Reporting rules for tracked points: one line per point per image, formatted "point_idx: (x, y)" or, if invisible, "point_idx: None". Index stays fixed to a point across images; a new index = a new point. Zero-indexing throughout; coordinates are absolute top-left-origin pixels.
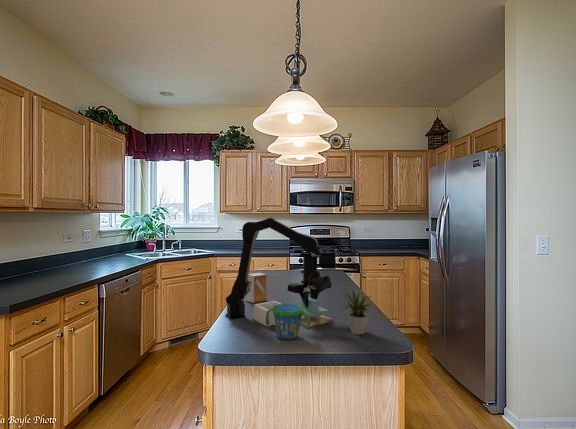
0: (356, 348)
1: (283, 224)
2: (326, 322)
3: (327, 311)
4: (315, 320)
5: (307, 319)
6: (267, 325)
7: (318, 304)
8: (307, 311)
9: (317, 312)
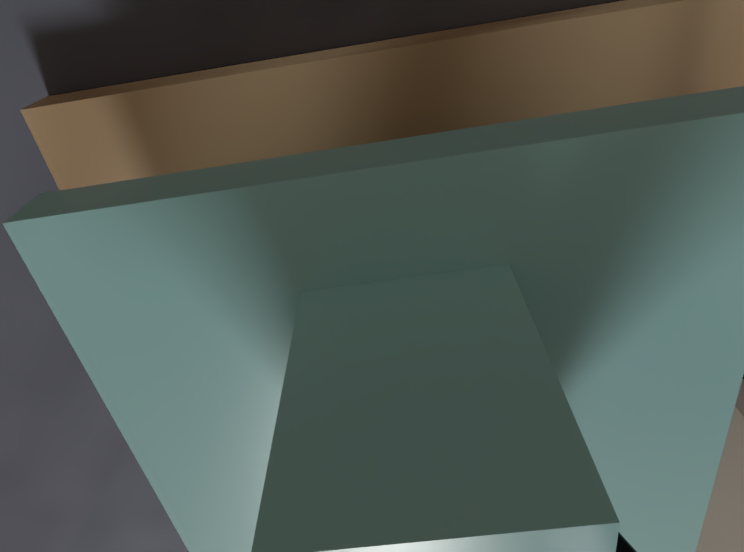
0: None
1: None
2: (196, 73)
3: (56, 201)
4: None
5: None
6: None
7: (285, 415)
8: (604, 337)
9: (430, 161)
